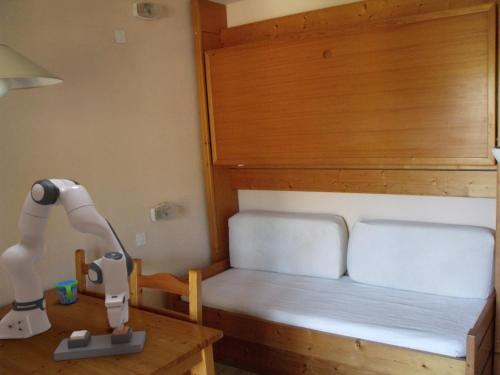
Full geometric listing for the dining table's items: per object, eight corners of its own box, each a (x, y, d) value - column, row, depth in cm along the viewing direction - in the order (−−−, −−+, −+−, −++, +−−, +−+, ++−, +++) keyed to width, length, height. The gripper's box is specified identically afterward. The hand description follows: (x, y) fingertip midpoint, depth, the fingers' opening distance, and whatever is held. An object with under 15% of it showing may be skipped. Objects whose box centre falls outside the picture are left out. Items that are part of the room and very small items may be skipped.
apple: (117, 332, 208) (115, 309, 207) (104, 331, 211) (101, 308, 210) (128, 325, 216) (126, 303, 214) (114, 324, 218) (112, 302, 217)
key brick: (114, 340, 191) (113, 332, 190) (116, 334, 196) (115, 327, 195) (127, 338, 191) (126, 331, 191) (129, 333, 196) (128, 326, 196)
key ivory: (71, 344, 189) (70, 336, 189) (74, 338, 194) (73, 331, 194) (84, 342, 190) (83, 335, 189) (87, 337, 195) (86, 330, 194)
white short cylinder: (131, 318, 224) (130, 303, 223) (126, 324, 217) (125, 308, 217) (117, 318, 225) (115, 303, 224) (111, 324, 218) (109, 309, 217)
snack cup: (57, 299, 258) (55, 280, 257) (79, 295, 261) (76, 276, 260) (57, 308, 243) (55, 288, 242) (80, 304, 247) (78, 284, 246)
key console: (54, 361, 186) (52, 345, 185) (64, 346, 198) (62, 331, 198) (141, 352, 188) (140, 336, 187) (145, 337, 201) (144, 323, 200)
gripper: (114, 287, 201) (117, 320, 203) (103, 304, 181) (107, 340, 183) (129, 285, 202) (133, 318, 204) (121, 302, 182) (125, 339, 183)
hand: (121, 329), depth 193 cm, fingers closed, pressing on key brick
